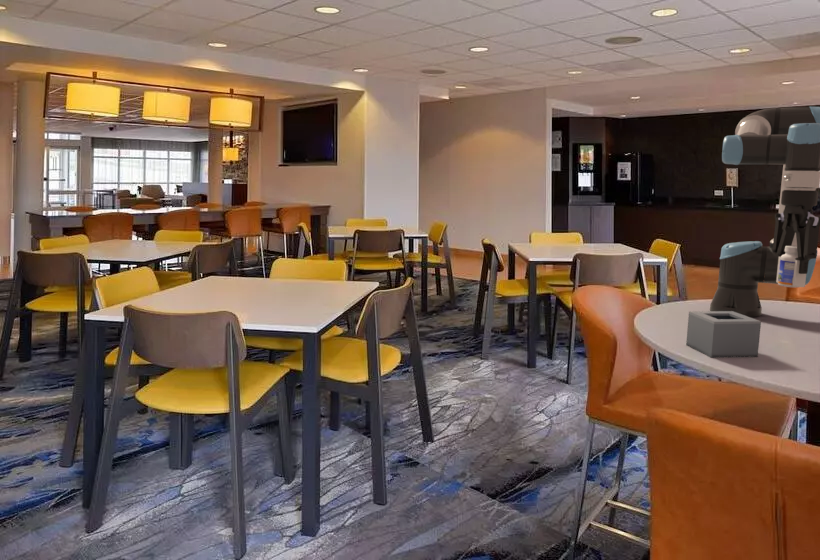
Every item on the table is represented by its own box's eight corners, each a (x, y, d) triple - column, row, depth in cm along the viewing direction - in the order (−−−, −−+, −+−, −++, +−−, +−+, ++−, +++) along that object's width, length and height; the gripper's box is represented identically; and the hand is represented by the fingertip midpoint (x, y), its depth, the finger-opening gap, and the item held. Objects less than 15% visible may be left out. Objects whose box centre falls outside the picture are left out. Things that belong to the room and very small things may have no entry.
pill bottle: (778, 283, 166) (782, 244, 165) (803, 285, 163) (807, 246, 162) (776, 286, 162) (780, 246, 160) (801, 288, 159) (806, 248, 157)
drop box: (729, 344, 174) (732, 311, 173) (757, 357, 162) (761, 321, 161) (686, 345, 173) (688, 311, 171) (711, 357, 161) (714, 321, 160)
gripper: (761, 188, 167) (753, 278, 171) (812, 190, 149) (801, 291, 153) (789, 188, 168) (780, 278, 172) (843, 190, 150) (831, 291, 154)
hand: (790, 284), depth 162 cm, fingers closed on pill bottle, 5 cm apart
